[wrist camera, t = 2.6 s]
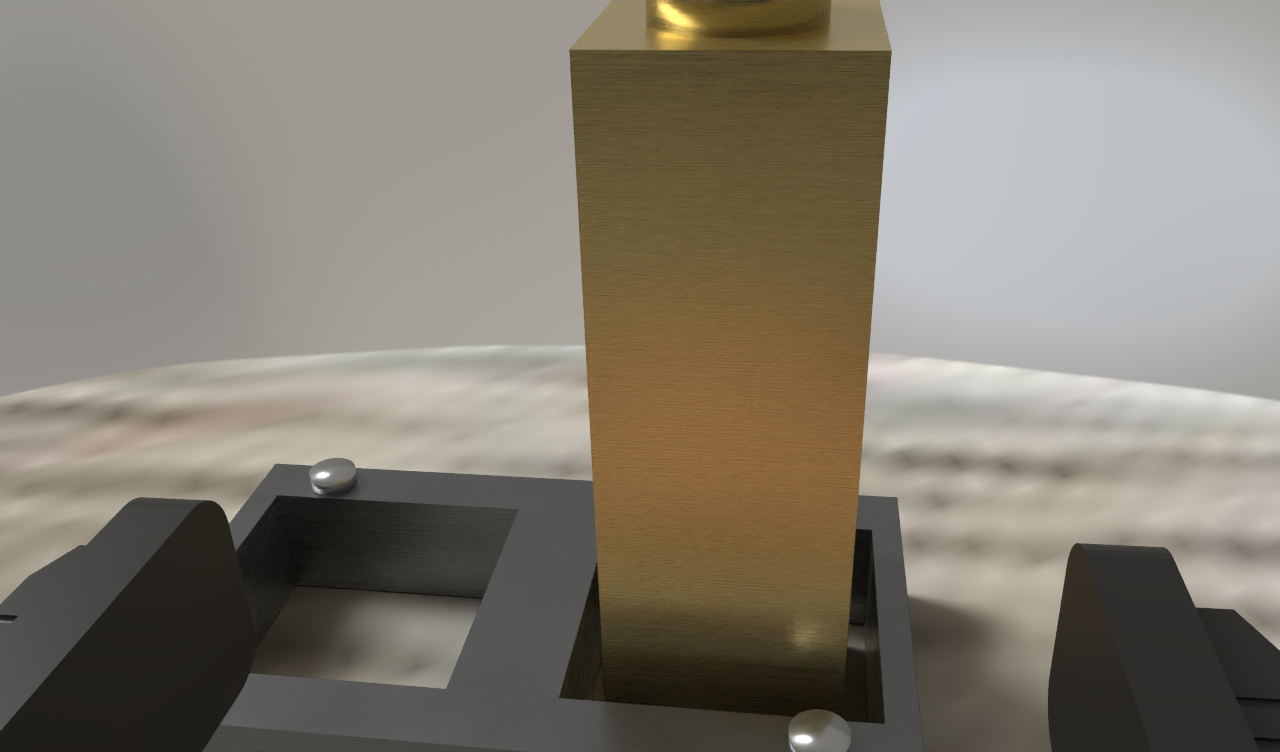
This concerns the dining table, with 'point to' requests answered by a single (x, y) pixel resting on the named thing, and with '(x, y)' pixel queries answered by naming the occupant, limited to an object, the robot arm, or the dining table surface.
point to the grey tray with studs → (514, 623)
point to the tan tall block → (728, 338)
